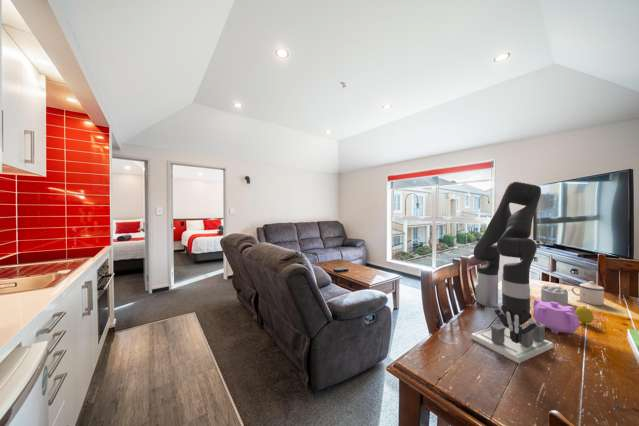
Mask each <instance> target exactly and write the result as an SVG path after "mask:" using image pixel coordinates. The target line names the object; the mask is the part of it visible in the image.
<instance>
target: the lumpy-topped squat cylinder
mask: <svg viewBox="0 0 639 426" xmlns="http://www.w3.org/2000/svg"><path fill="white" fill-rule="evenodd" d="M540 288H541V289H540V301H542V302H557V303H559V305H562V306H569V291H568V290H567V289H566V288H563V287H561V286H556V285H550V284H547V285H541V287H540Z"/></svg>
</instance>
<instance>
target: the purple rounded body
mask: <svg viewBox="0 0 639 426" xmlns="http://www.w3.org/2000/svg"><path fill="white" fill-rule="evenodd" d="M532 309H533V312H532V317H533V318H532V319H533V320H534V321H535V322H539V323H541V324H544V325H546V327H545V328H547V329H549V330H550V332H551V333H553V334H555V335H559V333H566V334H572V335H573V333H575V332H576V331H577V330H578V329H579V328H581V325H580V321H579V319H578V316H577V315H575V310H576V308H575V307H574V306H571V305H568V306H562V305H559V303H557V302H543V301H541V299H534V301H533V306H532Z"/></svg>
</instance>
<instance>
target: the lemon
mask: <svg viewBox="0 0 639 426" xmlns="http://www.w3.org/2000/svg"><path fill="white" fill-rule="evenodd" d="M575 315H577V316H578V319H579V322H581V323H582V325H583V324H584V325H586V324H590V323H592V322H593V321H594V314H593V311H592V310H591V309H590V308H588V307H586V306H584V305H583V306H578V307H577V308H575Z"/></svg>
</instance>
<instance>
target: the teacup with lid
mask: <svg viewBox="0 0 639 426" xmlns="http://www.w3.org/2000/svg"><path fill="white" fill-rule="evenodd" d="M574 289H579V293H576V292H575V290H574ZM605 290H606V289H605V288H604V287H603V286H600V285H598V284H596V283H595V281H593V280H592V281H590V280H589V281H588V282H584V283H580V284H578V286H573V287H571V292H572V294H574V296H579V300H580V301H581V302H583V303H586V304H588V305H589V304H590V305H594V306H603V305H604V304H605Z"/></svg>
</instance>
